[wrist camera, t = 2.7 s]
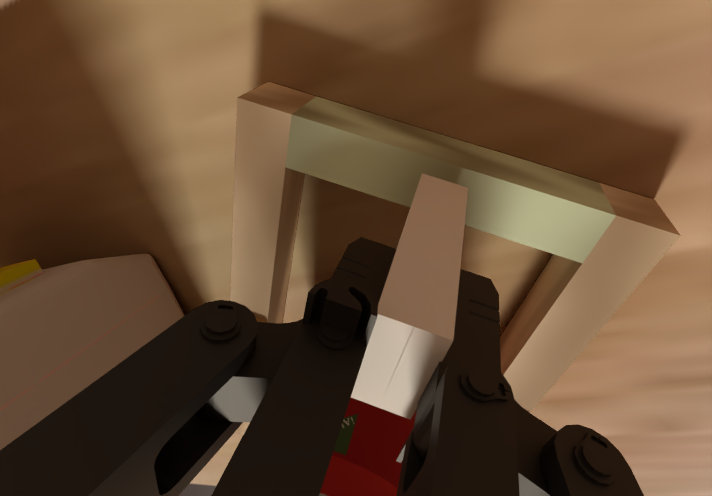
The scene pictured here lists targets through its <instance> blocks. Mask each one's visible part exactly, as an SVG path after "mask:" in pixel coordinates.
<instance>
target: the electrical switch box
mask: <svg viewBox="0 0 712 496" xmlns="http://www.w3.org/2000/svg"><path fill="white" fill-rule="evenodd" d="M182 317H184V314H183V312H182V310H181V308H180V306H179V304H178V302H177V300H176V298H175V296H174V294H173V292H172V290H171V288H170V286H169V285H168V283H167V281H166V280H165V278H164V276H163V274H162V273H161V271H160V269H159V267H158V266H157V264H156V262H155V261H154V259H153V257H152V256H150V255H149V254H135V255H126V256H116V257H108V258H99V259H90V260H82V261H78V262H73V263H69V264H65V265H60V266H56V267H51V268H47V269H43V270H42V269H41V267H40V266H39V264H38V263H37V261H36V259H32V260H28V261H24V262H20V263H16V264H12V265H8V266H4V267H0V450H1V449H3V448H4V447H5V446H7V445H8V444H9V443H11V442H12V441H13V440H15V439H16V438H18V437H19V436H20V435H22V434H23V433H24V432H26V431H27V430H29V429H30V428H31V427H33V426H34V425H35V424H37V423H38V422H40V421H41V420H42V419H44V418H45V417H46V416H48V415H49V414H51V413H52V412H53V411H55V410H56V409H57V408H59V407H60V406H62V405H63V404H64V403H66V402H67V401H68V400H70V399H71V398H72V397H74V396H75V395H77V394H78V393H79V392H81V391H82V390H83V389H85V388H86V387H88V386H89V385H90V384H92V383H93V382H94V381H96V380H97V379H99V378H100V377H101V376H103V375H104V374H105V373H107V372H108V371H110V370H111V369H112V368H114V367H115V366H116V365H118V364H119V363H121V362H122V361H123V360H125V359H126V358H127V357H129V356H130V355H132V354H133V353H134V352H136V351H137V350H138V349H140V348H141V347H142V346H144V345H145V344H147V343H148V342H149V341H151V340H152V339H153V338H155V337H156V336H158V335H159V334H160V333H162V332H163V331H164V330H166V329H167V328H169V327H170V326H171V325H173V324H174V323H175V322H177V321H178V320H180V319H181V318H182Z"/></svg>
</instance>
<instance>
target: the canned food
mask: <svg viewBox="0 0 712 496" xmlns="http://www.w3.org/2000/svg"><path fill="white" fill-rule="evenodd" d="M416 410H417V409H416ZM415 416H416V411H415V413H414V414H413V416H412V418H411V420H410V419H408V418H405V417H402V416H400V415H397V414H394V413H392V412H389V411H386V410H384V409H381V408H378V407H375V406H373V405H370V404H367V403H365V402H362V401H359V400H357V399H354V398H350V401H349V404H348V407H347V410H346V414H345V417H344V420H343V423H342V426H341V429H340V432H339V435H338V438H337V442H336V445H335V448H334V451H333V454H332V457H331V460H330V463H329V466H328V469H327V473H326V476H325V479H324V482H323V485H322V488H321V491H320V494H319V496H396V495H397V490H398V484H399V478H400V473H401V467H402V462H403V460H402V462H401V463H400V462H397V461H396V460H397V457H398V455H399V453H400V451H401V449H402V447H403V445H404V444H405V442H406V440H407V438H408V436H409V435H410V433H411V431H412V429H413V428H414V422H415Z"/></svg>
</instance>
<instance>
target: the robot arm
mask: <svg viewBox="0 0 712 496" xmlns="http://www.w3.org/2000/svg"><path fill="white" fill-rule="evenodd" d="M467 196H468V188H467V187H464V186H461V185H458V184H455V183H451V182H448V181H445V180H442V179H439V178H436V177H432V176H429V175H426V174H423V173H422V175H421V178H420V181H419V184H418V187H417V190H416V193H415V195H414V198H413V201H412V204H411V207H410V210H409V213H408V216H407V219H406V222H405V225H404V228H403V231H402V234H401V236H400V239H399V242H398V245H397V248H396V249H395V248H392V247H389V246H386V245H383V244H380V243H377V242H374V241H371V240H368V239H365V238H362V237H360V238H359V239H357V240H356V241H354V242H352V243H351V244H349V245H348V247H347V249H346V251H345V253H344V255H343V257H342V259H341V261H340V262H339V264H338V266H337V269H336V270H335V272H334V274H333V276H332V278H331V280H326V281H323V282H321V283H319V284H316V285H315V286H314V287H313V288H312V289H311V290H310V291H309V292H308V297H307V302H306V307H305V312H304V317H303V319H301V320H299V321H296V322H291V323H266V322H257V320H256V317H255V315H254V313H253V312H252V311H251V310H249V309H248V308H247V307H246V306H244V305H242V304H239V303H237V302H234V301H224V300H218V301H213V302H208V303H205V304H203V305H201V306H199V307H197V308H195V309H193V310H192V311H191V312H189V313H188V314H186V315H185V316H184V317H182V318H181V319H180V320H178V321H177V322H175V323H174V324H173V325H171V326H170V327H169V328H167V329H166V330H164V331H163V332H162V333H160V334H159V335H158V336H156V337H155V338H153V339H152V340H151V341H149V342H148V343H147V344H145V345H144V346H142V347H141V348H140V349H138V350H137V351H136V352H134V353H133V354H132V355H130V356H129V357H127V358H126V359H125V360H123V361H122V362H121V363H119V364H118V365H116V366H115V367H114V368H112V369H111V370H110V371H108V372H107V373H105V374H104V375H103V376H101V377H100V378H99V379H97V380H96V381H94V382H93V383H92V384H90V385H89V386H88V387H86V388H85V389H83V390H82V391H81V392H79V393H78V394H77V395H75V396H74V397H72V398H71V399H70V400H68V401H67V402H66V403H64V404H63V405H62V406H60V407H59V408H57V409H56V410H55V411H53V412H52V413H51V414H49V415H48V416H46V417H45V418H44V419H42V420H41V421H40V422H38V423H37V424H35V425H34V426H33V427H31V428H30V429H29V430H27V431H26V432H24V433H23V434H22V435H20V436H19V437H18V438H16V439H15V440H13V441H12V442H11V443H9V444H8V445H7V446H5V447H4V448H3V449H1V450H0V496H178V495H179V494H180V493H181V492H182V491H183V490H184V489H185V488H186V487H187V485H188V484H189V483H190V482H191V481H192V480H193V479H194V477H195V476H196V475H197V474H198V473H199V472H200V471H201V470H202V468H203V467H204V466H205V465H206V464H207V463H208V462H209V461H210V459H211V458H212V457H213V456H214V455H215V454H216V453H217V451H218V450H219V449H220V448H221V447H222V446H223V445H224V444H225V442H226V441H227V440H228V439H229V438H230V437H231V436H232V434H233V433H234V432H235V431H236V430H237V429H238V428H239V427H240V425H241V424H242V423H243V422H250V423H249V425H248V427H247V429H246V431H245V433H244V435H243V437H242V439H241V441H240V442H239V444H238V446H237V448H236V450H235V452H234V454H233V456H232V458H231V460H230V462H229V463H228V465H227V467H226V469H225V471H224V473H223V475H222V477H221V479H220V481H219V482H218V484H217V486H216V488H215V490H214V492H213V494H212V496H319V494H320V491H321V488H322V485H323V482H324V479H325V476H326V473H327V469H328V466H329V463H330V460H331V457H332V454H333V451H334V448H335V445H336V442H337V438H338V435H339V432H340V429H341V426H342V423H343V420H344V417H345V414H346V410H347V407H348V404H349V401H350V398H354V399H357V400H359V401H362V402H365V403H367V404H370V405H373V406H375V407H378V408H381V409H384V410H386V411H389V412H392V413H394V414H397V415H400V416H402V417H405V418H408V419H410V420H411V418H412V416H413V414H414V413H415V411H416V416H415V422H414V428H413V429H412V431H411V433H410V435H409V436H408V438H407V440H406V442H405V444H404V445H403V447H402V449H401V451H400V453H399V455H398V457H397V460H396V461H397V462H400V463H401V462H402V460H403V462H402V467H401V473H400V478H399V484H398V490H397V495H396V496H644V495H643V493H642V491H641V489H640V487H639V485H638V483H637V481H636V479H635V477H634V474H633V472H632V470H631V468H630V467H629V465H628V463H627V462H626V460H625V459H624V457H623V456H622V454H621V453H620V451H619V450H618V449H617V448H616V447H615V446H614V445H613V444H612V443H611V442H610V441H609V440H608V439H606V438H605V437H603V436H602V435H600V434H599V433H597V432H596V431H594V430H592V429H590V428H587V427H584V426H581V425H566V426H564V427H563V428H562V429H560V430H559V431H558V432H557V431H556V430H554V429H553V428H551V427H550V426H548V425H547V424H545V423H544V422H542V421H541V420H539V419H538V418H536V417H535V416H533V415H532V414H530V413H529V412H528V411H527V410H525V409H524V408H523V407H521V406H520V405H519V404H518V403H517V401H516V400H515V399H514V396H513V392H512V388H511V386H510V384H509V383H508V381H507V380H506V378H505V377H504V375H503V374H502V373H501V354H500V325H499V322H500V319H499V312H498V311H499V294H498V292H497V290H496V288H495V286H494V285H493V283H492V281H491V279H489V278H486V277H483V276H480V275H477V274H474V273H471V272H468V271H465V270H462V269H460V268H461V257H462V247H463V237H464V227H465V216H466V206H467ZM416 409H417V410H416Z"/></svg>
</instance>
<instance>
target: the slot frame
mask: <svg viewBox="0 0 712 496" xmlns="http://www.w3.org/2000/svg"><path fill="white" fill-rule="evenodd" d="M422 173H423V174H426V175H429V176H432V177H436V178H439V179H442V180H445V181H448V182H451V183H455V184H458V185H461V186H464V187H467V188H468V196H467V206H466V216H465V226H468V227H471V228H474V229H477V230H481V231H484V232H487V233H490V234H493V235H496V236H499V237H502V238H505V239H508V240H511V241H515V242H518V243H521V244H524V245H527V246H530V247H533V248H536V249H539V250H542V251H545V252H548V253H552V254H553V255H552V257H551V259H550V260H549V262H548V263H547V265H546V266H545V268H544V269H543V271H542V273H541V274H540V276H539V277H538V279H537V280H536V282H535V283H534V285H533V287H532V288H531V290H530V291H529V293H528V294H527V296H526V298H525V299H524V301H523V302H522V304H521V305H520V307H519V308H518V310H517V312H516V313H515V315H514V316H513V318H512V319H511V321H510V323H509V324H508V326H507V327H506V329H505V330H504V332H503V333H502V335H501V337H500V354H501V373H502V374H503V375H504V377H505V378H506V380H507V381H508V383H509V384H510V386H511V388H512V392H513V396H514V399H515V400H516V401H517V403H518V404H519V405H520V406H521V407H523V408H524V409H525V410H527V411H528V412H529V413H530V412H531V411H532V410H533V409H534V407H535V406H536V405H537V404H538V403H539V401H540V400H541V399H542V398H543V397H544V396H545V394H546V393H547V392H548V391H549V390H550V389H551V387H552V386H553V385H554V384H555V383H556V382H557V380H558V379H559V378H560V377H561V376H562V374H563V373H564V372H565V371H566V370H567V369H568V367H569V366H570V365H571V364H572V363H573V362H574V360H575V359H576V358H577V357H578V356H579V354H580V353H581V352H582V351H583V350H584V349H585V347H586V346H587V345H588V344H589V343H590V342H591V340H592V339H593V338H594V337H595V336H596V334H597V333H598V332H599V331H600V330H601V329H602V327H603V326H604V325H605V324H606V323H607V322H608V320H609V319H610V318H611V317H612V316H613V315H614V313H615V312H616V311H617V310H618V309H619V307H620V306H621V305H622V304H623V303H624V302H625V300H626V299H627V298H628V297H629V296H630V295H631V293H632V292H633V291H634V290H635V289H636V287H637V286H638V285H639V284H640V283H641V282H642V280H643V279H644V278H645V277H646V276H647V275H648V273H649V272H650V271H651V270H652V269H653V267H654V266H655V265H656V264H657V263H658V262H659V260H660V259H661V258H662V257H663V256H664V255H665V253H666V252H667V251H668V250H669V249H670V248H671V246H672V245H673V244H674V243H675V242H676V240H677V239H678V238H679V237H680V236H681V235H680V234H679V233H678V231H677V230H676V228H675V227H674V226H673V224H672V223H671V222H670V220H669V219H668V217H667V216H666V215H665V213H664V212H663V211H662V209H661V208H660V206H659V205H658V204H657V202H656V201H655V200H654V199H651V198H648V197H644V196H641V195H638V194H635V193H631V192H628V191H625V190H622V189H618V188H615V187H612V186H608V185H605V184H602V183H599V182H595V181H592V180H589V179H586V178H582V177H579V176H576V175H572V174H569V173H566V172H563V171H559V170H556V169H553V168H550V167H546V166H543V165H540V164H536V163H533V162H530V161H527V160H523V159H520V158H517V157H513V156H510V155H507V154H504V153H500V152H497V151H494V150H491V149H487V148H484V147H481V146H477V145H474V144H471V143H468V142H464V141H461V140H458V139H455V138H451V137H448V136H445V135H441V134H438V133H435V132H432V131H428V130H425V129H422V128H419V127H415V126H412V125H409V124H405V123H402V122H399V121H396V120H392V119H389V118H386V117H383V116H379V115H376V114H373V113H369V112H366V111H363V110H360V109H356V108H353V107H350V106H346V105H343V104H340V103H337V102H333V101H330V100H327V99H324V98H320V97H317V96H314V95H310V94H307V93H304V92H301V91H297V90H294V89H291V88H288V87H284V86H281V85H278V84H274V83H271V82H267V83H265V84H263V85H261V86H259V87H257V88H255V89H253V90H251V91H249V92H247V93H245V94H243V95H241V96H239V97H238V98H237V123H236V152H235V181H234V209H233V238H232V267H231V295H230V301H234V302H237V303H239V304H242V305H244V306H246V307H247V308H248V309H249V310H251V311H252V312H253V313H254V315H255V317H256V320H257V322H266V323H283V316H284V309H285V303H286V296H287V289H288V283H289V276H290V269H291V262H292V256H293V249H294V242H295V236H296V229H297V222H298V216H299V209H300V202H301V196H302V189H303V182H304V175H305V174H308V175H311V176H314V177H317V178H320V179H323V180H326V181H329V182H332V183H336V184H339V185H342V186H345V187H348V188H351V189H354V190H357V191H360V192H363V193H366V194H370V195H373V196H376V197H379V198H382V199H385V200H388V201H391V202H394V203H397V204H400V205H403V206H407V207H411V204H412V201H413V198H414V195H415V193H416V190H417V187H418V184H419V181H420V178H421V175H422ZM249 423H250V422H243V423H242V424H241V425H240V427H239V428H238V429H237V430H236V431H235V432H236V433H239V434H241V435H244V433H245V431H246V429H247V427H248V425H249Z"/></svg>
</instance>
